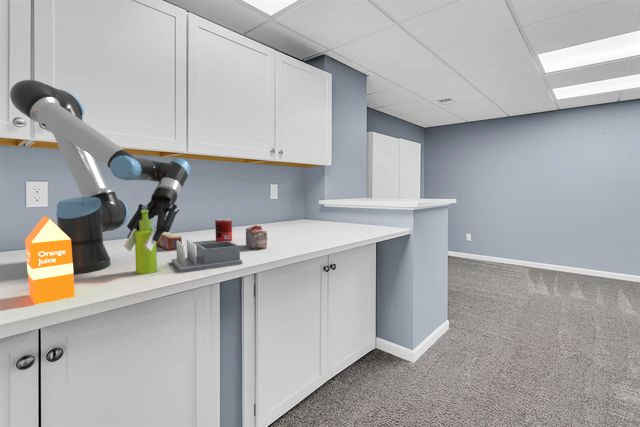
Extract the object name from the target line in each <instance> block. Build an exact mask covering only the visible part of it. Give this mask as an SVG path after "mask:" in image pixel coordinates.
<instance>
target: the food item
mask: <svg viewBox="0 0 640 427" xmlns="http://www.w3.org/2000/svg"><path fill="white" fill-rule="evenodd" d="M245 245H246V246H248V249H249V248H250V249H253V250H264V249H265V250H266V249H267V247H268V231H267V230H266V231H265V230H263V228H262V227H261V225H257V224H256V225H253V226H250V227H247V228H246V229H245Z"/></svg>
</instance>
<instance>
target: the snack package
mask: <svg viewBox="0 0 640 427" xmlns="http://www.w3.org/2000/svg"><path fill="white" fill-rule="evenodd" d="M176 241H179V242H181V244H183V238H182V236H180V235H177V234H175V233H172V232H170V231H169V232H163V233H162V234H161V236H160V238H159V240H158V241H156V246H160V247H162V248H164V249H165V250H168V251H169V252H170V251H171V252H172V251H177V249H176Z"/></svg>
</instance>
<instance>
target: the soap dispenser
mask: <svg viewBox="0 0 640 427" xmlns="http://www.w3.org/2000/svg"><path fill="white" fill-rule="evenodd" d="M141 214H142V219H141V220H139V230H138V231H135V244H134V248H135V249H134V252H135V273H136V274H139V275H147V274H154V273H156V272H157V271H158V268H157V265H158V263H157V262H158V261H157V260H158V259H157V258H158V257H157V256H158V255H157V244H156V242H155V244H154V246H153V248H152V250H151V251H148V250H147V249H146V248H145V247H144V246H145V244H146V242H147V240H148V238H149V236H150V235H151V233H152V231H153V229H152V219H148V210H141Z"/></svg>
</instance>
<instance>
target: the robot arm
mask: <svg viewBox="0 0 640 427" xmlns="http://www.w3.org/2000/svg"><path fill="white" fill-rule="evenodd" d="M9 92H10V93H9V97H10V101H11V103H12V105H13V106H14V108H16V109H17V110H18V111H19V113H22V114H23V115H25V116H26V117H28V118H29V119H31V120H32V121H34V122H35V123H38V124H42V125H43V127H44V130H46V131H47V132H49V133H51V134H53V137H54V139H55V142H56V143H57V145H58V147H59V150H60V152H61V155H62V156H63V158H64V160H65V164H66V165H67V167H68V169H69V172H70V173H71V176H72V177H73V180H74V182H75V184H76V186H77V189H78V192H79V193H80V196H78V197H72V198H71V197H70V198H66V199H61V200H60V201H58V202H57V204H56V212H55V215H56V218H57V219H56V221H57V226H58V227H59V228H60V229H61V230H62V231H63V232H64V233H65V234H66V235H67V236H68V237H69V238H70V239H71V248H72V262H73V275H74V274H84V273H88V272H89V273H90V272H95V271H100V270H103V269H106V268H108V267H110V266H111V258H110V255H109V252H108V251H107V248H106V246H105V245H104V238H103V237H104V236H103V233H105V232H108V231H109V232H111V231H114V230H117V229H120V228H121V227H123V226H124V225H125V224H126V223H127V221H128V220H129V216H130V210H129V207H128V205H127V204H126V203H125V201H123V200H121V199H119V198H118V196H117V193H116V191H115V190H113V189H110V188H109V187H108V184H107V183H106V180H105V178H104V176H103V174H102V172H101V169H100V167H99V165H98V163H97V161H98V162H100V163H101V164H103V166H106V167H107V168H109V169H110V171H111V174H112V175H113V176H114V177H115V178H116V179H120V180H123V181H148V182H149V181H150V182H156V183H158V184H157V185H156V188H155V189H154V191H153V193H152V195H151V197H150V201H149V202H148V203H147V204H145V205H143V204H142V203H139V205H138V207H137V210H136V212H135V213H134V215H133V216H132V217H131V219H130V220H129V222H128V223H127V225H126V227H127V228H128V230H129V233H128V235H127V236H126V237H127V240H126V242H125V243H124V245H123V246H124V248H125V249H126V250H127V251H129V252H130V251H132V249H133V248H134V247H135V231H138V230H139V220H141V219H142V214H141V210H148V219H150V220H152V219H154V217H156V216H157V219H156V226H155V227H154V228H153V229H152V230H153V231H152V233H151V235H150V236H149V238H148V240H147V242H146V244H145V246H144V247H145V248H146V249H147V250H148V251H151V250H152V248H153V246H154V244H155V242H156V241H158V240H159V238H160V236H161V234H162V233H163V232H169V233H170V231H171V229H172V225H173V223H174V221H175V218H176V215H177V214H178V213H179V211H180V209H179V207H178V206H177V204H175V203H176V202H177V199H178V197H179V195H180V192H182V191H181V190H182V189H183V187H184V185H185V183H186V181H187V179H188V178H189V175H190V172H191V165H190V164H189V163H188V161H186V160H185V159H183V158H173V159H172V160H171V161H170V162H161V161H156V160H151V159H146V158H139V157H135V156H134V155H132V154H131V153H129V152H128V151H127V150H125V149H124V148H122V147H121V146H120V145H118V144H116V143H115V142H114V141H112V140H111V139H109V138H108V137H106V136H105V135H104V134H102V133H100V131H97V129H94V128H93V127H91V126H90V125H89V124H88V123H86V122H85V121H84V120H83V118H84V117H83V116H84V115H85V110H84V107H83V104H82V102H81V101H80V100H79V99H78V98H77V97H76V96H75V95H73V94H71V93H70V92H67V91H66V90H63V89H61V88H60V89H58V88H56V87H54V86H52V85H49V84H46V83H43V82H41V81H38V80H34V79H23V80H20V81H17V82H16V83H14V85H12V87H11V89H10V91H9ZM96 160H97V161H96Z"/></svg>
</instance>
